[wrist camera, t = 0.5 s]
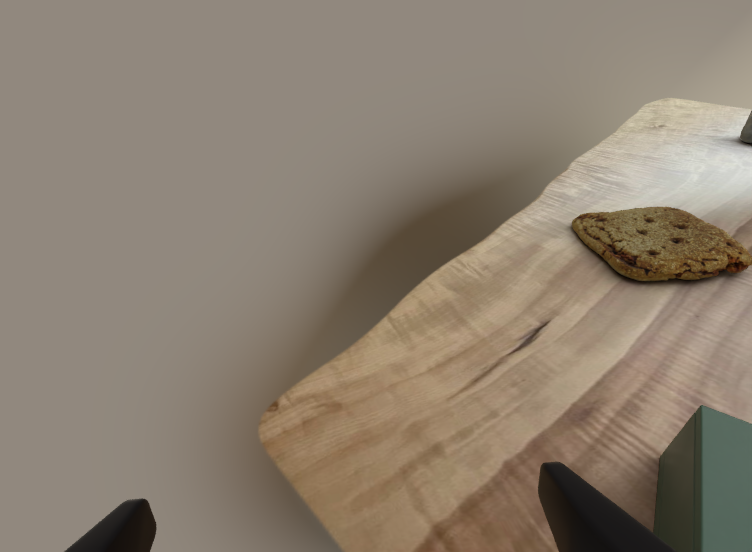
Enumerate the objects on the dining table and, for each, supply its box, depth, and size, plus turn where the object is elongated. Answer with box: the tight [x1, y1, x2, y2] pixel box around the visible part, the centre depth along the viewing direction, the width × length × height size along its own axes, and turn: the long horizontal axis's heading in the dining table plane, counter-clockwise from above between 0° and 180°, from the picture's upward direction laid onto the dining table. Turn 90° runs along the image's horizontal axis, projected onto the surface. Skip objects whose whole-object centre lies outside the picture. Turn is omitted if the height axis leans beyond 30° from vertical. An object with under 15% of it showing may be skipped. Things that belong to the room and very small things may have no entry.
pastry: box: [572, 207, 752, 281], centre depth 42 cm, size 17×17×3 cm
